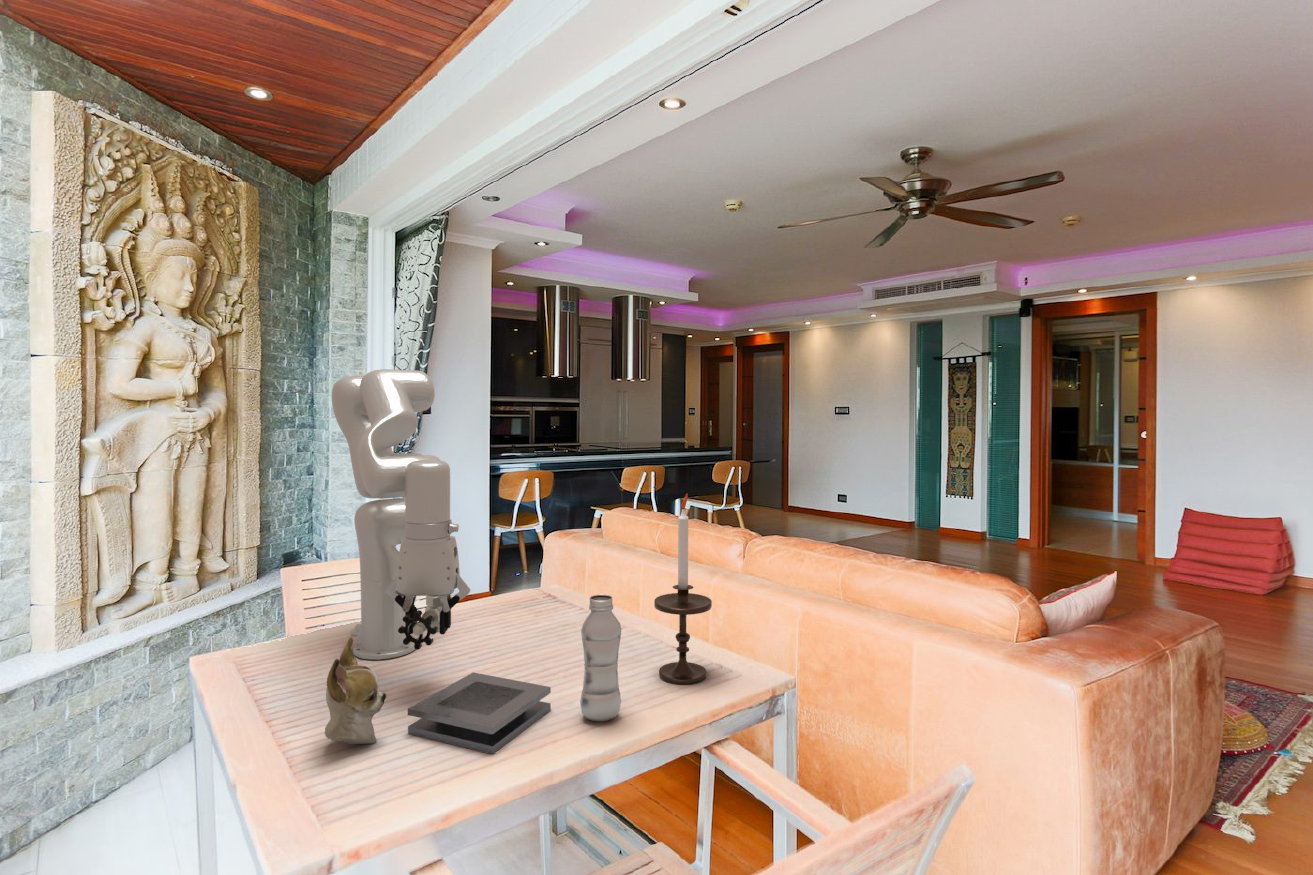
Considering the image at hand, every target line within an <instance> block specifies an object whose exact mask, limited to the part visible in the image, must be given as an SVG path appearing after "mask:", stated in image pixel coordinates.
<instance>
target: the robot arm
mask: <svg viewBox="0 0 1313 875" xmlns="http://www.w3.org/2000/svg"><path fill="white" fill-rule="evenodd" d="M435 394H436V393H435V386H434V383H433V380H432V378H431V377H430V376H429V375H428V374H427V373H425V372H424V371H421V370H414V369H411V370H410V369H387V368H383V369H375V370H371V371H369V372H367V373H366V374H364V375H351V376H345V377H342V378H339V379H338V380H337V381H336V382H335V383H334V384H333V386H332V390H331V404H332V410H333V414H334V418H335V420H336V423H337V424H338V425H337V426H338V427H339V428H340V430H341V432H342V434H343V436H344V438H345V440H346V442H347V444H348V445H347V446H348V449H349V454H350V462H351V467H352V473H353V478H354V483H355V486H356V490H357V492H358V493H359V495H360V496H361V497H362V498H366V499H374V500H371V501H368V502H365V503H363V504H361V505H360V506H359V507H358V508H357V510H356V511H355V514H354V519H353V520H354V521H353V522H354V523H353V524H354V530H355V534H356V539H357V540H356V541H357V545H358V555H359V570H360V571H359V573H360V574H359V575H360V576H359V577H360V623H361V624H360V623H358V624H356V625H355V626H354V629H352V630H350V633H349V635H350V637H354V638H355V637H356V638H357V643H355V645H354V646H353V648H352V651H353V654H354V657H357V658H359V659H362V660H371V661H373V660H377V661H378V660H388V659H393V658H398V657H402V656H405V655H408V654H410V653H412V652H414V651H415V650H416V649H415V648H414V645H415V644H414V643H413V642H410V643H409V644H408V645H404V644H403V640H404V639H405V638H406V635H405V634H404V633H402V634H400V633H399V632H398V629H399V628H400V627H401V626H403V627H405V625H406V623H405V622H403V617H404V616H405V615H410V616H409V617H410V618H411V619H412V618H414V613H415V612H416V611H418V608H417V606H416V605H415V603H416V600H417V597H421V596H422V597H424V596H425V597H426V596H439V599H440V602H441V606H442V611H441V612H440V633H439V634H440V635H445V634H446V633H447V631H448V629H450V628H451V625H452V609H453V607H455V605H457V604H458V603H459V602H460V601H461V600H462V599H464V598H466V597H467V596H468V595H469V594H470V592H471V588H470V587H469V585H468V584H466V582H465V581H464V579H463V578H462V577H461V572H460V561H459V552H458V545H457V539H456V536H454V535H452V533H458V532H459V528H460V526H459V524H456V523H453V522H452V519H451V468H450V464H448V463H447V462H446V461H443V460H441V459H440V458H439V457H437V456H436V455H429V454H426V455H425V454H421V453H415V452H414V453H412V452H410V453H405V452H404V453H396V452H394V451H393V449H392V447H394V446H397V445H399V444H400V443H403V442H405V441H406V440H408V439H409V438H411V437H412V436H413V435H414V434H415V432H416V431H417V428H418V424H419V422H418V417H417V415H416V413H417V414H418V413H421V412H424V411H425V412H426V411H427V410H428V409H429V410H430V408H431V407H432V406H433V403H434V401H435ZM375 499H376V500H375ZM398 545H400V546H399V550H398V549H397V546H398ZM455 589H458V592H456V593H455ZM453 593H455V594H454V595H453V596H452V594H453ZM415 622H417V623H418V621H415ZM413 627H414V625H412V624H411V625H410V626H409V633H410V635H411V636H412V635H413V634H414V633H413ZM412 637H413V638H415V639H417V638H416V637H414V636H412Z"/></svg>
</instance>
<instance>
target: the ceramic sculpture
mask: <svg viewBox="0 0 1313 875" xmlns="http://www.w3.org/2000/svg"><path fill="white" fill-rule="evenodd" d="M353 637H354V636H350V637H349V638H348V640H347V642H346V644H345V646H344V648H343V650H342V652H341V654H340V657H339V658H335V659H334V661H333V663H332V665H331V667H330V670H329V671H328V674H327V677H326V678H327V679H326V693H325V700H326V705H327V707H328V710H329V715H330V719H329V721H328V722H327V724H326V725H325V728H324V736H325V737H326V738H327V739H329V740H332V741H336V742H340V741H341V742H344V743H345V744H352V745H361V744H362V745H367V744H371V745H372V744H375V743H377V737H376V735H375V734H376V733H375V729H374V724H373V722H372V720H373V717H374V716H375V715H376V714H378V713H379V712H380V711H381V710H382V707H383V706H384V704H385V701H386V700H387V693H386V692H382V691H379V677H378V676H379V675H378V674H377V673H376V672H375V671H374V670H373V669H372V668H371V667H370V666H366V665H363V664H362V665H360V664H358V661H357V659H356V658H355V655H354V651H353V648H352V647H353V644H354V638H353Z"/></svg>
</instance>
